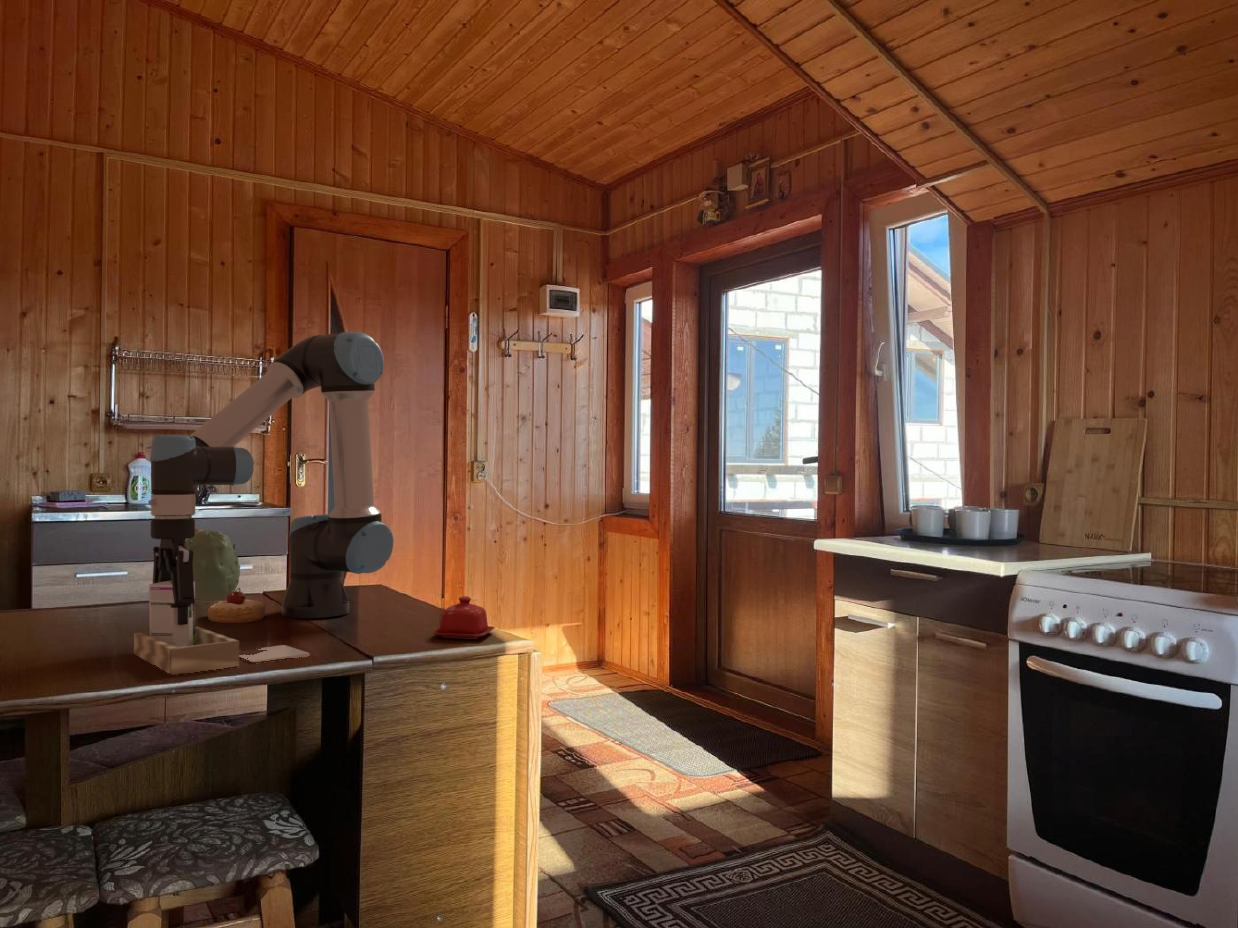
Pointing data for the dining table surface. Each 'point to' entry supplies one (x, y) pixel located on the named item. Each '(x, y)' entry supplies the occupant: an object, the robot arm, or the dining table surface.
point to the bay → (189, 652)
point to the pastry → (236, 609)
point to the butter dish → (464, 621)
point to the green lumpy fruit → (213, 565)
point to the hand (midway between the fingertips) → (172, 639)
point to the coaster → (275, 654)
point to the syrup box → (167, 614)
